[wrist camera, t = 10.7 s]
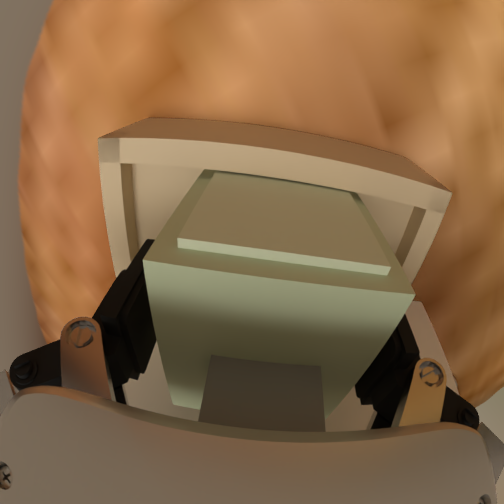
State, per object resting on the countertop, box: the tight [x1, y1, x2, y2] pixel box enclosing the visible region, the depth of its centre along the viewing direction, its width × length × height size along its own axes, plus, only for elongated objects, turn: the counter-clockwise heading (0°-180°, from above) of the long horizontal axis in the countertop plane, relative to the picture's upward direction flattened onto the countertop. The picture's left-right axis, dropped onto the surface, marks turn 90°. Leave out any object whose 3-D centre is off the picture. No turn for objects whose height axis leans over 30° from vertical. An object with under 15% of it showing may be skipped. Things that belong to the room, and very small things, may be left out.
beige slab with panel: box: [98, 118, 460, 432], centre depth 11 cm, size 22×12×14 cm, turn 83°
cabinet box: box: [143, 169, 416, 432], centre depth 9 cm, size 6×7×8 cm
